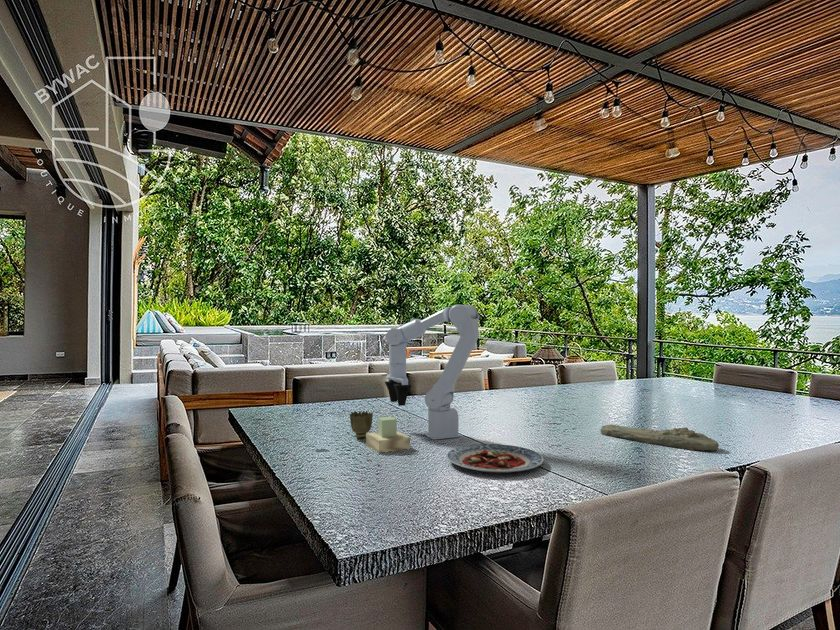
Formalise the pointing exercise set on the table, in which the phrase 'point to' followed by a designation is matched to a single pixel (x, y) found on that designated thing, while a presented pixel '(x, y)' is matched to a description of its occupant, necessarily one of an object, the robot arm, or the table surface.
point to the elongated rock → (663, 437)
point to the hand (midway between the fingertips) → (397, 403)
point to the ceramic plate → (495, 458)
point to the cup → (361, 423)
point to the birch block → (387, 442)
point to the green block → (387, 426)
